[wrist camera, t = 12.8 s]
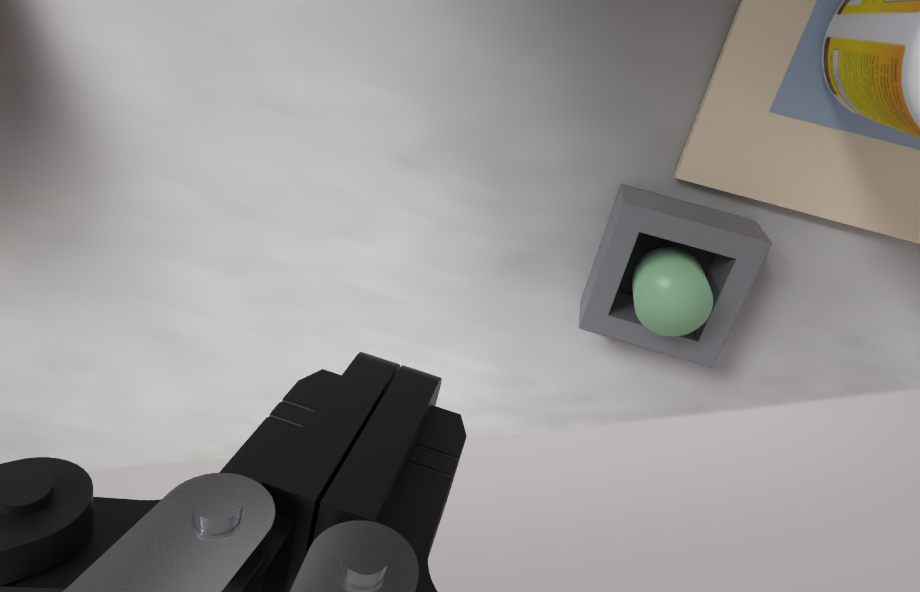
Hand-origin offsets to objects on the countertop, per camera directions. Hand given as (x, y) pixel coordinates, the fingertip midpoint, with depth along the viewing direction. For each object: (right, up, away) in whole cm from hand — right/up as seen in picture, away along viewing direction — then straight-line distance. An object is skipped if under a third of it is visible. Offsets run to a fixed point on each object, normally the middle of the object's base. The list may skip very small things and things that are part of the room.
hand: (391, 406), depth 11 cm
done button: (+10, +3, +16) cm, 19 cm away
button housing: (+11, +3, +18) cm, 21 cm away
